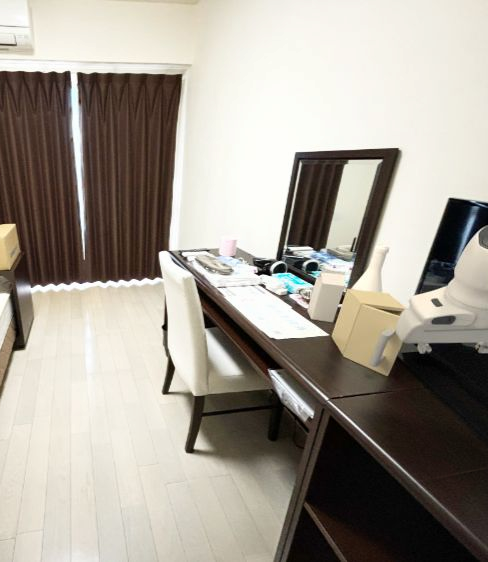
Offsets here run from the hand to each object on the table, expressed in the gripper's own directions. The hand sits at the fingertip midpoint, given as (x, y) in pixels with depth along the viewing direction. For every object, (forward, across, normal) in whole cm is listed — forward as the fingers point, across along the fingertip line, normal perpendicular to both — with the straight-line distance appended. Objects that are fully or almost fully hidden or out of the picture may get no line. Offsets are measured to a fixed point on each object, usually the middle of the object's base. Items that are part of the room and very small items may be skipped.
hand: (451, 350), depth 65 cm
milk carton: (+31, +13, -40) cm, 53 cm away
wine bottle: (+33, +2, -37) cm, 50 cm away
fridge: (+26, +8, -21) cm, 34 cm away
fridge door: (+21, +10, -10) cm, 26 cm away
